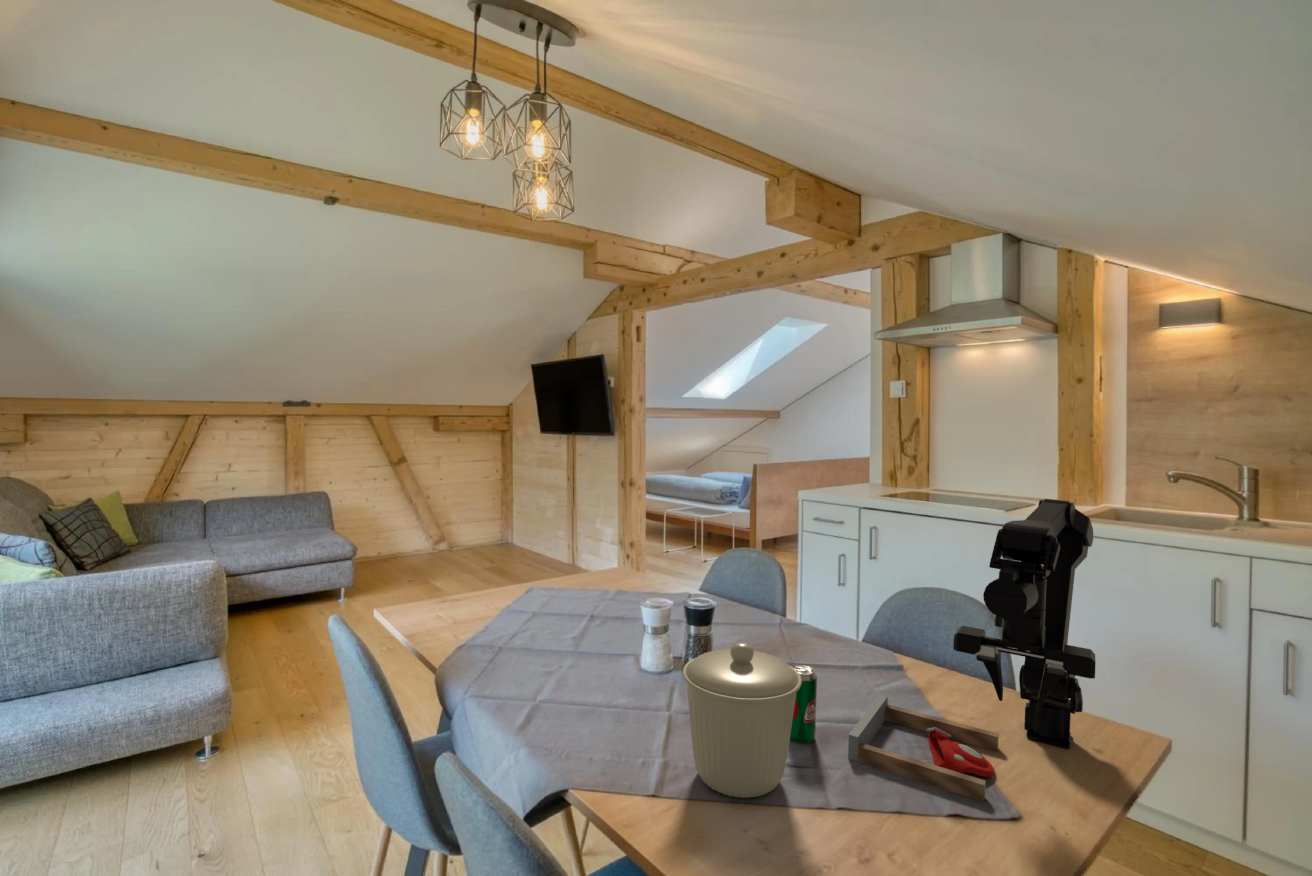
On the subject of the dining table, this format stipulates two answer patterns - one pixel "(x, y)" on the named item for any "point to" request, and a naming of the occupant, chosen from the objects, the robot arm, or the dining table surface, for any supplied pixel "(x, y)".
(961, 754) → the tracker holder
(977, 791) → the walnut channel
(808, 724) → the soda can
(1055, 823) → the dining table surface
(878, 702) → the end stop
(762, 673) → the canister
